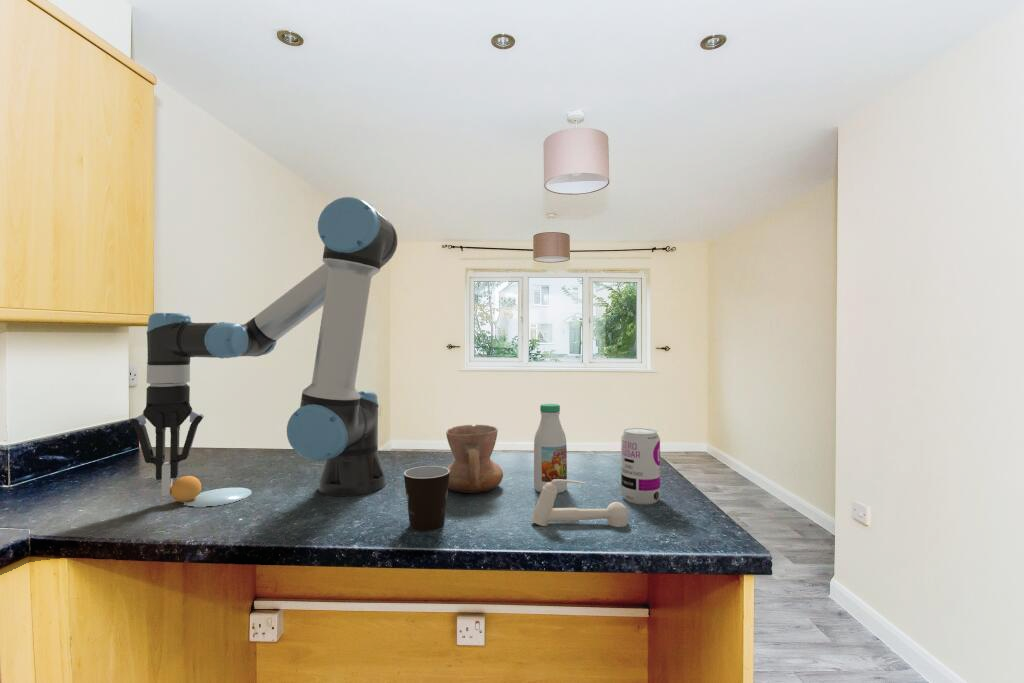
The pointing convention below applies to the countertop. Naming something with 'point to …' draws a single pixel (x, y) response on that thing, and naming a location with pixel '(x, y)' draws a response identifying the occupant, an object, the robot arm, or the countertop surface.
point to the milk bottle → (550, 449)
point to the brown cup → (426, 496)
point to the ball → (186, 488)
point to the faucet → (574, 509)
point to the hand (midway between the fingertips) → (166, 493)
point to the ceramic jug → (473, 459)
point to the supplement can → (640, 466)
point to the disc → (219, 497)
